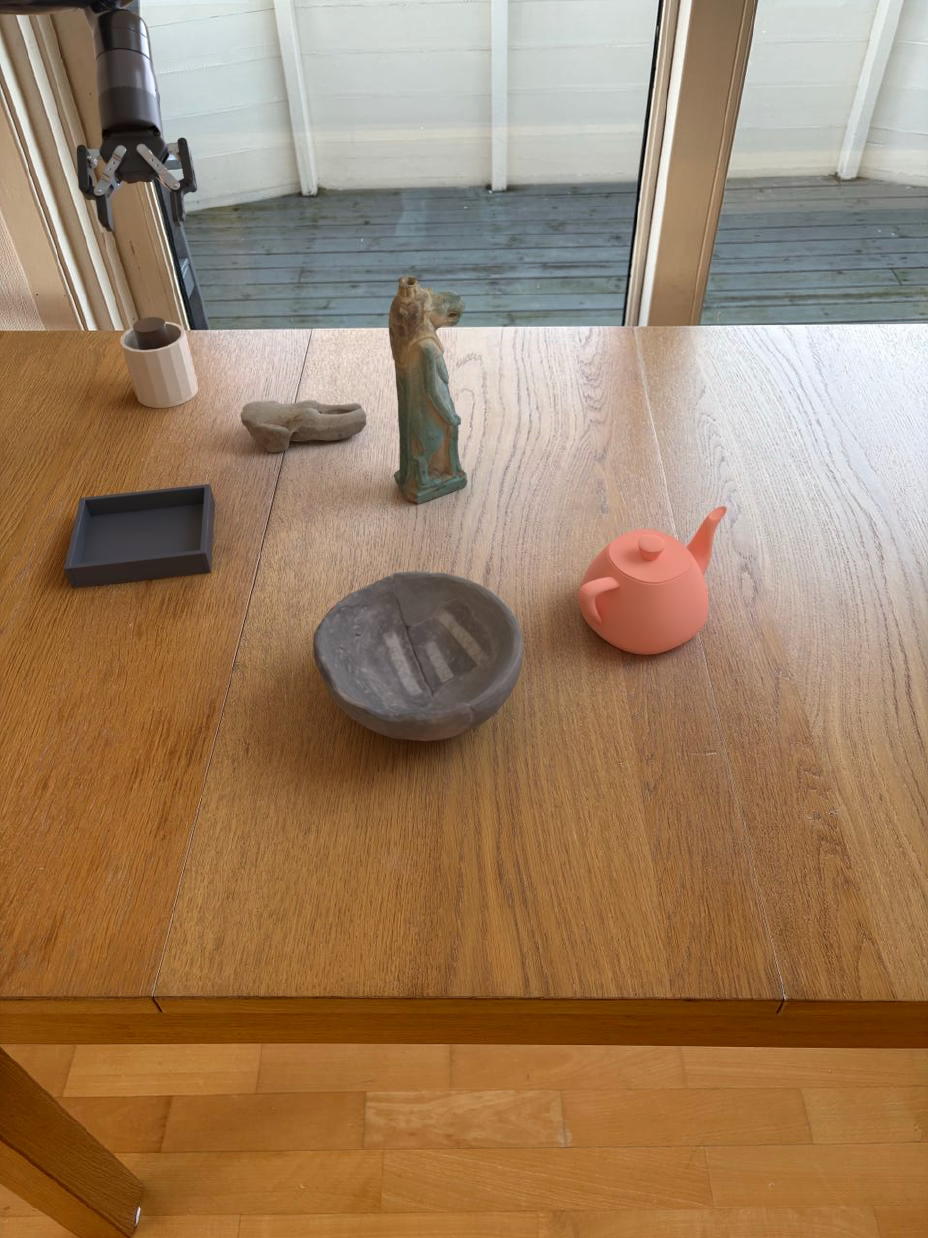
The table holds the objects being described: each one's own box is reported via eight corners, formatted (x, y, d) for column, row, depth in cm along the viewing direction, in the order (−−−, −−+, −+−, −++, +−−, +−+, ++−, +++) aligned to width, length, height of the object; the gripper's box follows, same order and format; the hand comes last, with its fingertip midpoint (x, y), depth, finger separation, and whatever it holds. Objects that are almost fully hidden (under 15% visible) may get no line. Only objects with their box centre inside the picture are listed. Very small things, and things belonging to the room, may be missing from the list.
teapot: (536, 615, 93) (540, 541, 87) (671, 546, 101) (683, 472, 94) (618, 690, 86) (629, 615, 80) (757, 610, 93) (777, 535, 87)
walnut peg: (149, 397, 124) (131, 333, 117) (152, 381, 127) (134, 318, 120) (180, 394, 124) (164, 330, 118) (182, 378, 127) (166, 315, 121)
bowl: (560, 723, 84) (564, 661, 78) (380, 809, 78) (371, 748, 72) (459, 604, 95) (457, 542, 89) (296, 670, 89) (282, 608, 83)
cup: (134, 410, 123) (116, 354, 117) (139, 379, 128) (123, 324, 123) (196, 404, 123) (182, 348, 118) (199, 373, 129) (186, 318, 123)
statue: (479, 485, 109) (477, 275, 92) (419, 512, 106) (404, 299, 88) (446, 458, 113) (437, 251, 96) (386, 483, 110) (366, 274, 93)
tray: (71, 588, 98) (63, 569, 96) (87, 516, 107) (80, 497, 105) (211, 572, 99) (205, 552, 97) (215, 502, 108) (210, 483, 106)
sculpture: (363, 418, 121) (243, 423, 119) (362, 386, 118) (239, 390, 116) (368, 452, 117) (243, 458, 114) (368, 420, 113) (239, 425, 111)
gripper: (61, 87, 116) (76, 218, 116) (179, 79, 118) (194, 208, 117) (81, 120, 124) (95, 243, 124) (191, 112, 125) (205, 234, 125)
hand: (143, 226), depth 121 cm, fingers open, 8 cm apart
